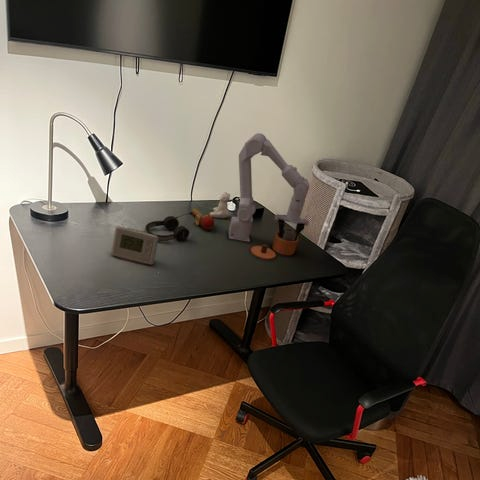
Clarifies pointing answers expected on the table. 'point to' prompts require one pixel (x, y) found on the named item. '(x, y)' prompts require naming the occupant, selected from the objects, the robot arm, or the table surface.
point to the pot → (284, 245)
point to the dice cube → (288, 234)
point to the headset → (169, 228)
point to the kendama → (203, 219)
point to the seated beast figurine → (221, 207)
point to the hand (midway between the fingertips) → (286, 237)
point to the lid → (263, 252)
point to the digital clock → (134, 245)
